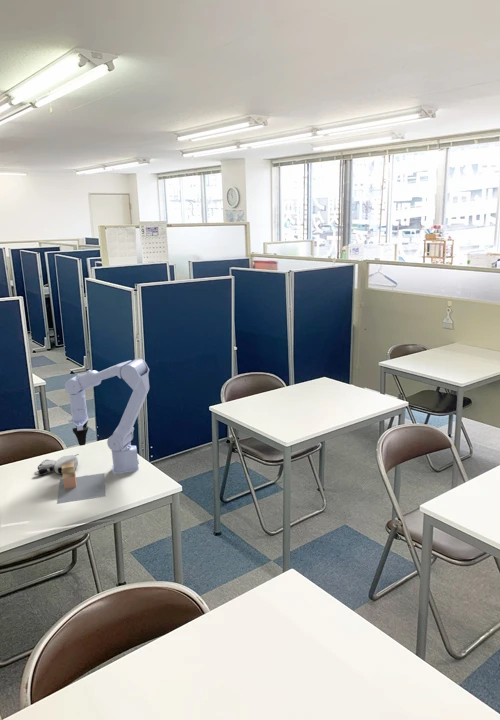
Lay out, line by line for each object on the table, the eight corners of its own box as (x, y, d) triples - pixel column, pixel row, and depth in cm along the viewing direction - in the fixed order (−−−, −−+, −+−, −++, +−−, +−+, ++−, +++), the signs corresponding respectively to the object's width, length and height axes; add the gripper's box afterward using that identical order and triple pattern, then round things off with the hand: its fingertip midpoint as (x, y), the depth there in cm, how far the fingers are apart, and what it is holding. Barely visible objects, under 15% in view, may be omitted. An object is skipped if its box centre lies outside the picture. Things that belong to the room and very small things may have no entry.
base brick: (76, 481, 199) (75, 471, 198) (76, 487, 196) (74, 476, 195) (64, 483, 198) (63, 473, 197) (64, 488, 195) (63, 478, 194)
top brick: (75, 471, 198) (73, 461, 197) (74, 476, 195) (73, 466, 193) (63, 473, 197) (62, 463, 196) (63, 478, 194) (61, 468, 192)
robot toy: (34, 482, 204) (74, 477, 204) (31, 471, 202) (72, 465, 203) (43, 467, 215) (82, 462, 216) (41, 456, 214) (80, 451, 215)
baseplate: (104, 474, 206) (104, 472, 206) (105, 497, 189) (105, 495, 189) (59, 481, 202) (59, 479, 202) (57, 505, 185) (56, 503, 185)
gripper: (68, 402, 213) (72, 435, 216) (66, 415, 199) (71, 450, 203) (87, 400, 214) (90, 432, 218) (86, 413, 201) (90, 447, 205)
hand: (82, 441), depth 210 cm, fingers open, 7 cm apart
